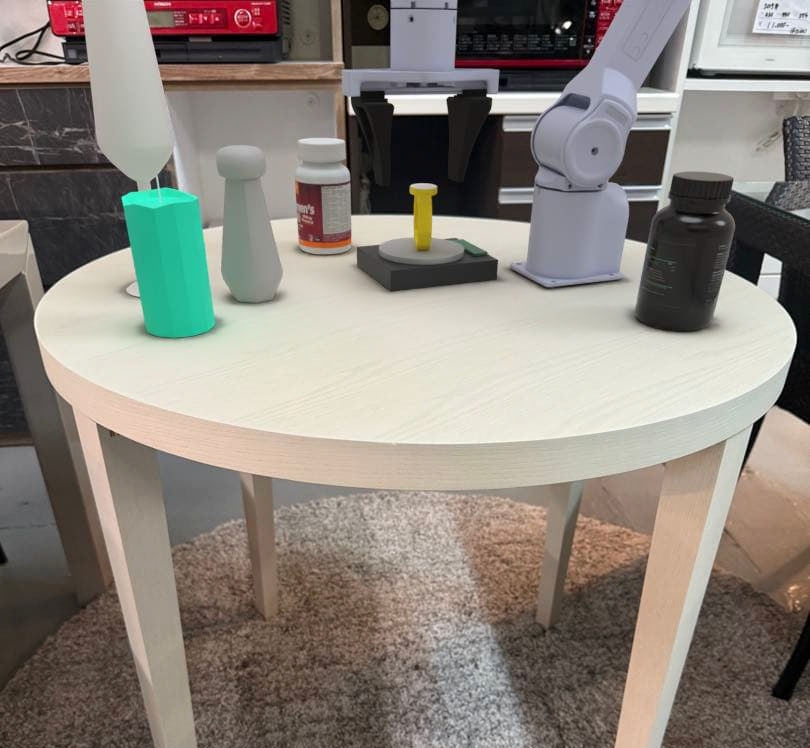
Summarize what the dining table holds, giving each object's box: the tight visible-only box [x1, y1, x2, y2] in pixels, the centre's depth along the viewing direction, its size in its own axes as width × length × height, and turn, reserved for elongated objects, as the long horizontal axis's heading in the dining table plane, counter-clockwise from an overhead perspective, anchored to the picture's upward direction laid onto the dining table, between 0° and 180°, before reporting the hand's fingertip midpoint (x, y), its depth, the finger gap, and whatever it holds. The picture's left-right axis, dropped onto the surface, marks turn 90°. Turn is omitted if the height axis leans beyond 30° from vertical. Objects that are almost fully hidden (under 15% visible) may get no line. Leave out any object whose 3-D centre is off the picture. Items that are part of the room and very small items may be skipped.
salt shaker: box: [215, 144, 284, 304], centre depth 70 cm, size 6×6×13 cm
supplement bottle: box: [634, 171, 736, 332], centre depth 66 cm, size 7×7×12 cm
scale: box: [356, 236, 499, 292], centre depth 80 cm, size 12×10×3 cm
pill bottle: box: [294, 137, 353, 255], centre depth 85 cm, size 6×6×11 cm
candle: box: [121, 175, 216, 339], centre depth 63 cm, size 6×6×12 cm
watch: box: [409, 182, 438, 250], centre depth 78 cm, size 6×3×6 cm, turn 4°
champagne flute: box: [81, 0, 176, 298], centre depth 68 cm, size 7×7×24 cm
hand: (419, 182), depth 73 cm, fingers open, 7 cm apart
